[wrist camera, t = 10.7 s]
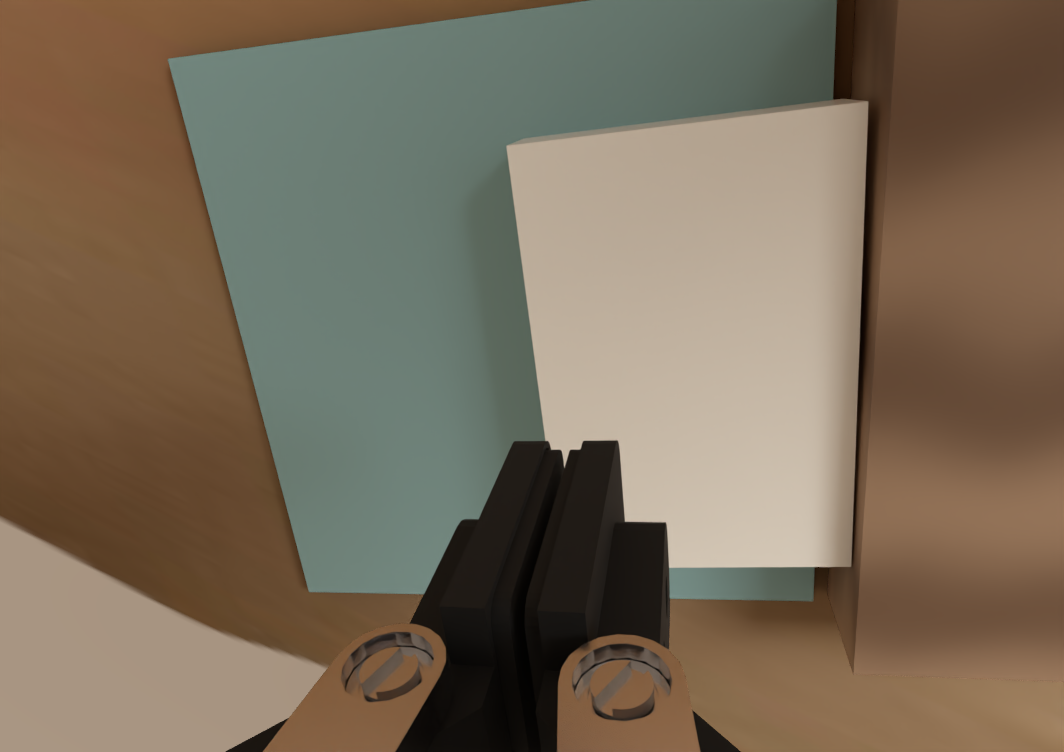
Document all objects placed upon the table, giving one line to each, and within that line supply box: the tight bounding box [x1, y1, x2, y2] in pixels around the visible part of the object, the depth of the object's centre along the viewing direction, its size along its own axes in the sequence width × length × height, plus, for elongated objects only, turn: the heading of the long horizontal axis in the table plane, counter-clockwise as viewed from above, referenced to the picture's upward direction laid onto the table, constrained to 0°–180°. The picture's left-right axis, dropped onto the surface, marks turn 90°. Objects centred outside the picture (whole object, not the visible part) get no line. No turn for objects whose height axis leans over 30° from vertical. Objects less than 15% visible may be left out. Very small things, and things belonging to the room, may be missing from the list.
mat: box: [168, 0, 837, 601], centre depth 22 cm, size 18×18×1 cm
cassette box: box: [506, 99, 868, 568], centre depth 20 cm, size 12×8×2 cm, turn 7°
